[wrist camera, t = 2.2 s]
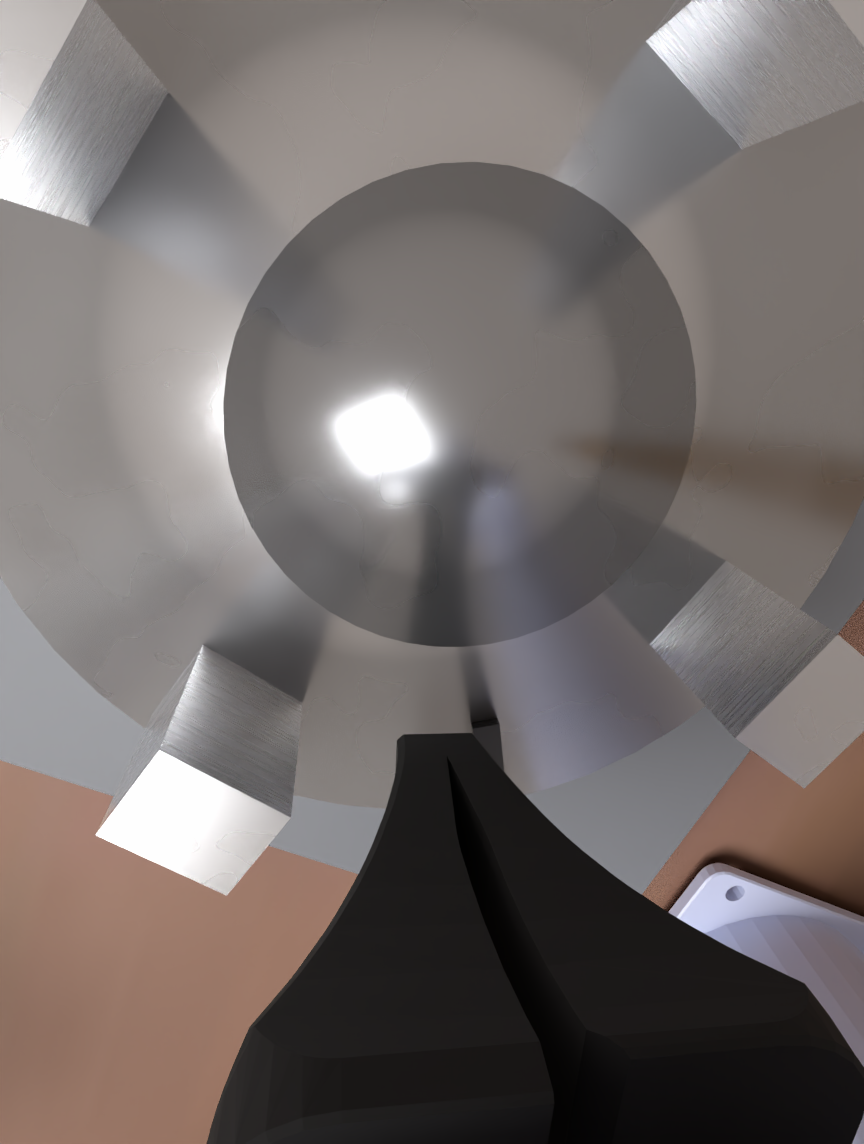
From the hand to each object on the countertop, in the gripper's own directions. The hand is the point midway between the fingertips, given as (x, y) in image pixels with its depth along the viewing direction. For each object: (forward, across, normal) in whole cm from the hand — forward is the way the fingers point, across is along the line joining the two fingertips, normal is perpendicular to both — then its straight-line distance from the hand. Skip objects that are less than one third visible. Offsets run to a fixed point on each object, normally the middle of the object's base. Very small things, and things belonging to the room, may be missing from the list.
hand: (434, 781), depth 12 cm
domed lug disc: (+2, 0, -6) cm, 7 cm away
